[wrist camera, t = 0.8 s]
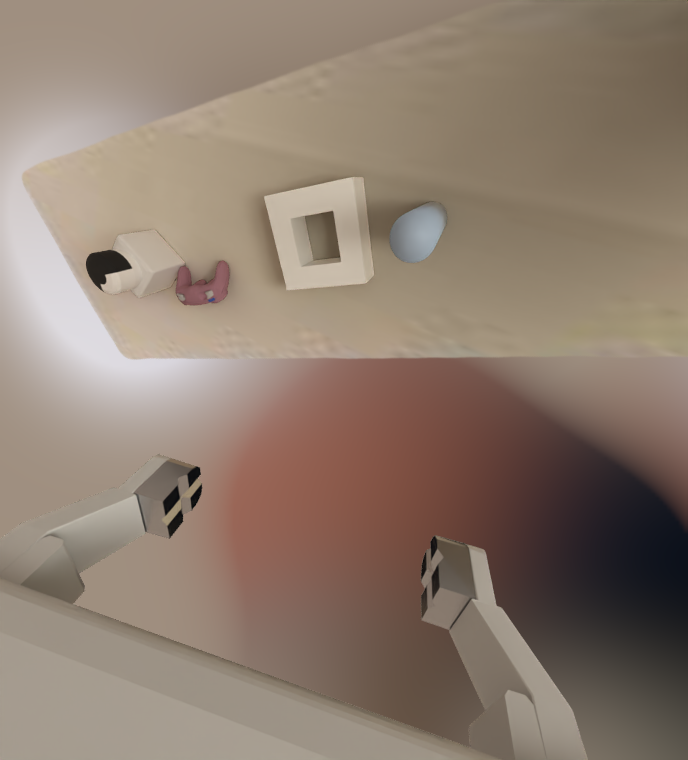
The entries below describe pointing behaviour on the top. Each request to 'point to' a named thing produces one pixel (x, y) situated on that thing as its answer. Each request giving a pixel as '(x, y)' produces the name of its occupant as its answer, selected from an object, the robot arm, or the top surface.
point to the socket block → (350, 228)
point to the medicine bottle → (135, 265)
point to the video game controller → (202, 286)
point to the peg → (418, 232)
